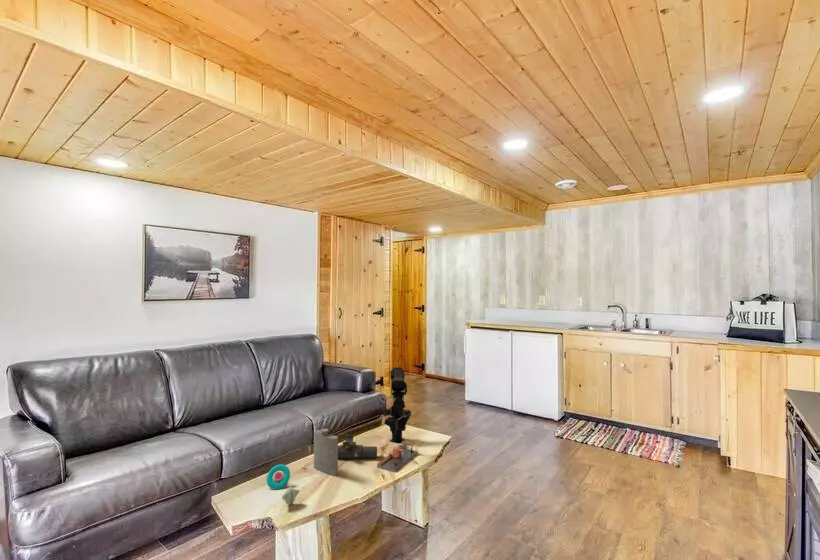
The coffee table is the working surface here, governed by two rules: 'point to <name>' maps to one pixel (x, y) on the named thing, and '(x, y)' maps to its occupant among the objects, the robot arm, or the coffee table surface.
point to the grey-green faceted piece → (290, 495)
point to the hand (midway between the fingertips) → (398, 433)
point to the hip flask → (326, 452)
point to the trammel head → (396, 452)
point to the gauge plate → (396, 463)
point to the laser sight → (355, 450)
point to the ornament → (278, 477)
